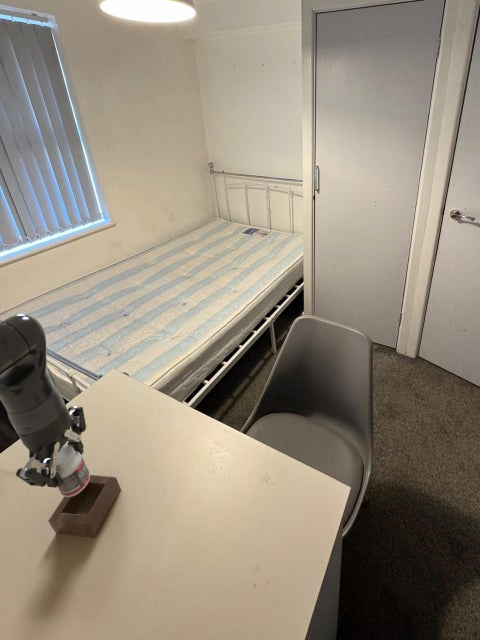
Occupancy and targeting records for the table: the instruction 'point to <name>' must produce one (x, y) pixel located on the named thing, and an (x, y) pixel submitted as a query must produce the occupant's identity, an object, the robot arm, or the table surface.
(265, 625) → the table surface
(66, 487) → the pill bottle
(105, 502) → the holder
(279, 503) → the table surface
